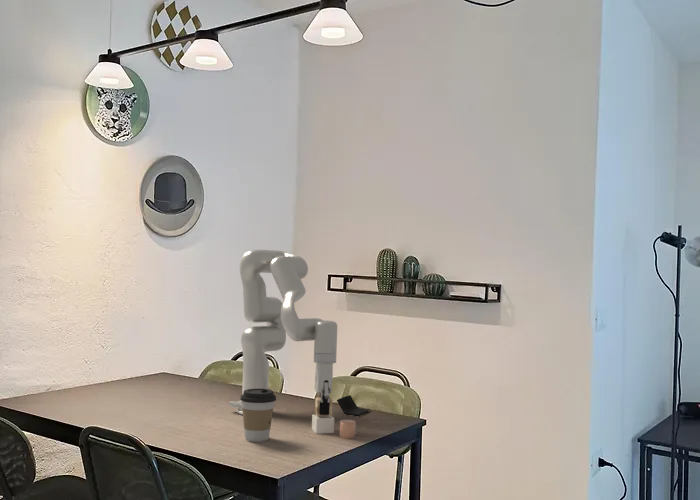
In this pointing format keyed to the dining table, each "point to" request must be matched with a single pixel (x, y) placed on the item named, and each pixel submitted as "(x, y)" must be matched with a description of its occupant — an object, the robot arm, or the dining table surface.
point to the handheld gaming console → (350, 406)
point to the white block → (323, 424)
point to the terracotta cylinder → (347, 429)
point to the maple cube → (317, 405)
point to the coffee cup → (257, 413)
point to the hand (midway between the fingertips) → (323, 412)
